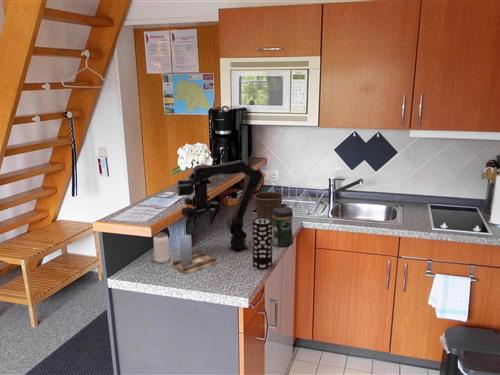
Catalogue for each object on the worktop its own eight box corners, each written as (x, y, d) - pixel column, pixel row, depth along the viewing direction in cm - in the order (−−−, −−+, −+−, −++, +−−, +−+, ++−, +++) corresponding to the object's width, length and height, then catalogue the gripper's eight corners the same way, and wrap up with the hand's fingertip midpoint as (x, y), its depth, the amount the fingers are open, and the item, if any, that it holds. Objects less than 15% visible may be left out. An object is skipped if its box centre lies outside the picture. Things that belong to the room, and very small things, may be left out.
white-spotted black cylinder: (248, 265, 182) (248, 221, 177) (262, 260, 187) (262, 217, 183) (262, 271, 176) (262, 225, 171) (276, 265, 182) (276, 221, 177)
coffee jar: (287, 240, 211) (288, 204, 207) (295, 245, 204) (295, 208, 199) (270, 243, 207) (270, 206, 203) (277, 248, 200) (277, 211, 196)
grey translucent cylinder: (191, 262, 183) (190, 234, 180) (193, 266, 179) (192, 237, 176) (180, 263, 182) (179, 235, 179) (181, 268, 177) (180, 239, 174)
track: (202, 256, 192) (202, 251, 191) (217, 263, 184) (216, 258, 183) (172, 266, 182) (171, 260, 181) (185, 274, 174) (185, 268, 173)
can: (163, 256, 193) (161, 231, 190) (172, 259, 189) (171, 234, 186) (151, 260, 188) (150, 235, 185) (161, 264, 184) (159, 238, 181)
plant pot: (272, 230, 226) (272, 201, 222) (248, 224, 235) (247, 196, 231) (288, 222, 238) (288, 194, 234) (264, 217, 248) (264, 190, 244)
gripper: (207, 187, 200) (208, 218, 204) (173, 194, 188) (175, 227, 192) (221, 191, 192) (222, 224, 196) (186, 198, 180) (188, 233, 184)
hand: (202, 226), depth 192 cm, fingers open, 9 cm apart
